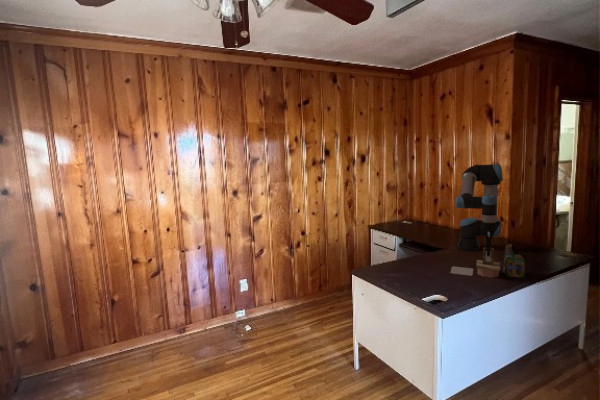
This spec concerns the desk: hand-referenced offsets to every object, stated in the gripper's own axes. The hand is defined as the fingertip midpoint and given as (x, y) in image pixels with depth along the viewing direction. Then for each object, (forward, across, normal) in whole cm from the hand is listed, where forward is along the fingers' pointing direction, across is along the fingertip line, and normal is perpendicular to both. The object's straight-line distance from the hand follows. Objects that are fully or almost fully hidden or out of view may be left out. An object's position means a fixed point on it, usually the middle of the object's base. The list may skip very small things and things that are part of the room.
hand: (488, 259), depth 189 cm
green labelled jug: (+10, -5, +13) cm, 17 cm away
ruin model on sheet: (+10, -43, +12) cm, 46 cm away
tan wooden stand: (+4, 0, 0) cm, 4 cm away
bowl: (+10, 0, 0) cm, 10 cm away
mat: (+10, 0, -14) cm, 17 cm away
